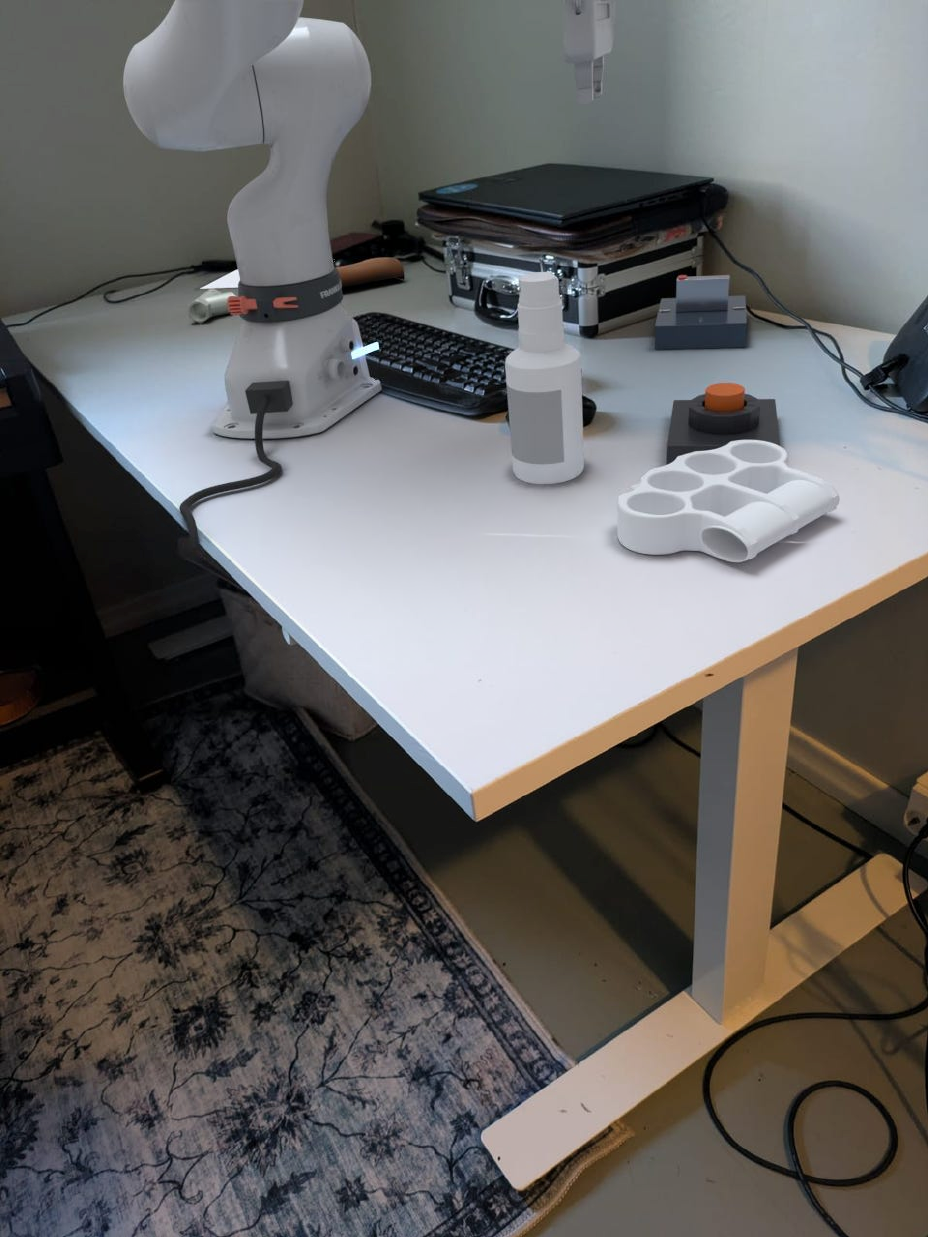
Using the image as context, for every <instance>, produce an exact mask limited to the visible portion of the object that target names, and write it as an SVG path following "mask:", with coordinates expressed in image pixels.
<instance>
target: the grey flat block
mask: <svg viewBox="0 0 928 1237" xmlns="http://www.w3.org/2000/svg"><path fill="white" fill-rule="evenodd" d="M746 298H747V296H746V295H729V298H728V310H725V311H693V312H676V297H665V298H664V297H663V298H661V299H660V303H659V307H658V312H657V315H656V320H655V324H654V350H655V351H658V350H690V349H691V350H699V349H701V350H703V349H734V348H735V349H738V348H746V342H747V328H748V318H747V299H746Z"/></svg>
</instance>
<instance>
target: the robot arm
mask: <svg viewBox="0 0 928 1237" xmlns="http://www.w3.org/2000/svg"><path fill="white" fill-rule="evenodd" d="M304 1H305V0H174V1H173V4H172V5H171V8H170V9H169V11H168V12H167V14H166V15H165V17H164V19H163V20H162V21H161V23H159V25H158V27H156V28H155V29H154V30H153V31H152V32H151V33H150V34H148V35H147V36H146V37H145V38H143V39H142V40H140V41H139V42H137V43H135V44H134V45H133V47H132V48H131V50H130V52H129V54H128V55H127V58H126V62H125V64H124V69H123V78H122V86H123V95H124V100H125V103H126V107H127V109H128V111H129V114H130V116H131V118H132V120H133V122H134V123H135V125H136V127H137V128H138V130H140V132H141V133H142V134H143V135H144V136H145V138H146V139H147V140H149V141H150V142H151V143H152V144H153V145H154V146H156V147H157V148H159V149H163V150H164V149H165V150H174V151H188V152H210V151H217V150H224V149H232V148H239V147H246V146H254V145H262V144H263V145H268V146H269V152H270V154H269V160H268V164H267V166H266V167H265V169H264V170H263V172H261V173H260V174H259V175H258V176H256V177H255V178H253V179H252V180H251V181H250V182H248V183H247V184H246V185H245V186H243V187H242V188H241V189H240V190H239V191H238V192H237V193H236V194H235V196H234V197H233V198H232V200H231V201H230V203H229V206H228V210H227V216H226V220H227V221H226V223H227V226H228V230H229V235H230V240H231V244H232V245H231V246H232V249H233V253H234V257H235V258H234V259H235V262H236V267H237V269H238V272H239V276H240V281H239V283H238V288H237V295H236V296H237V297H236V296H229V297H228V299H227V301H228V302H227V305H229V306H227V309H229V310H228V311H229V312H231V313H229V314H230V315H232V316H236V315H238V316H239V317H240V319H241V322H240V326H239V330H238V334H237V336H236V339H235V342H234V345H233V347H232V350H231V354H230V357H229V360H228V363H227V367H226V369H225V372H224V388H225V393H226V394H225V395H226V399H227V404H226V405H225V406H224V408H223V409H222V410H221V412H220V413H219V415H218V416H217V417H216V419H215V420H214V422H213V423H212V425H211V426H212V432H213V433H214V434H215V435H218V436H222V437H226V438H235V439H254V444H255V452H256V455H257V458H258V459H259V461H260V462H261V463H262V464H264V465H265V466H267V467H268V468H270V469H269V470H268V471H267V472H265V473H263V474H260V475H257V476H253V477H249V478H244V479H240V480H235V481H231V482H230V481H229V482H225V483H221V484H216V485H211V486H208V487H206V488H203V489H201V490H198V491H196V492H193V493H192V494H191V495H189V496H188V497H187V498H185V499H184V500H183V501H182V502H181V503H180V505H179V508H178V509H179V512H180V515H181V516H182V517H183V519H184V521H185V523H186V526H187V531H188V539H189V540H188V542H189V547H190V548H192V549H193V548H197V547H198V546H199V545H200V540H199V532H198V531H199V530H198V526H197V522H196V519H195V517H194V516H195V515H194V514H193V513H192V512H191V510H190V508H191V507H192V506H193V505H195V504H196V503H197V502H199V501H201V500H202V499H203V500H204V498H207V497H210V496H214V495H217V494H222V493H225V492H231V491H235V490H240V489H245V488H250V487H255V486H257V485H260V484H263V483H266V482H268V481H270V480H273V479H274V478H276V477H277V476H278V475H279V474H280V473H281V471H282V464H280V463H279V462H277V461H275V460H273V459H270V458H269V457H268V456H267V455H266V453H265V448H264V441H263V440H264V439H265V440H266V439H267V440H268V439H286V438H296V437H303V436H309V435H314V434H319V433H321V432H324V431H325V430H327V429H329V428H330V427H331V426H333V425H335V423H337V422H338V421H340V420H341V419H343V418H344V417H345V416H348V414H350V413H351V412H353V411H354V410H356V409H357V408H359V407H360V406H361V405H363V404H364V403H365V402H367V401H368V400H370V399H371V398H372V397H374V396H376V395H377V394H379V392H381V391H382V390H383V388H382V384H381V381H380V379H377V380H375V379H376V378H375V379H374V377H371V376H370V371H369V366H368V362H367V358H366V355H367V354H369V353H372V352H374V351H377V350H379V349H380V347H379V346H380V345H379V342H378V341H376V342H373V343H370V344H368V345H366V346H364V345H363V341H362V335H361V330H360V327H359V324H358V322H357V321H356V320H355V319H354V318H353V317H352V316H351V315H350V314H349V313H348V311H347V310H346V309H345V307H344V305H343V302H342V301H343V299H344V294H343V287H342V283H341V279H340V277H339V272H338V269H337V267H336V266H335V264H334V262H333V260H334V258H333V251H332V245H331V237H330V229H329V219H328V205H327V204H328V203H327V201H328V200H327V199H328V198H327V195H328V194H327V193H328V186H329V184H328V183H329V178H330V174H331V170H332V167H333V163H334V161H335V159H336V156H337V154H338V151H339V149H340V147H341V145H342V143H343V142H344V140H345V138H346V137H347V135H348V134H349V133H350V132H351V130H352V129H353V128H354V127H355V126H356V125H357V124H358V122H359V121H360V120H361V118H362V117H363V115H364V113H365V111H366V110H367V107H368V104H369V100H370V97H371V90H372V72H371V66H370V61H369V58H368V54H367V52H366V50H365V47H364V46H363V44H362V41H361V40H360V39H359V38H358V36H357V34H355V32H354V31H353V30H352V29H351V28H350V27H349V26H348V25H347V24H346V23H345V22H341V21H334V20H327V19H320V18H310V17H301V13H302V9H303V5H304ZM561 5H562V29H563V32H562V33H563V34H562V35H563V36H562V39H563V40H562V41H563V42H562V43H563V55H564V56H563V57H564V61H565V64H567V65H569V64H570V65H571V64H573V65H574V66H573V68H574V69H573V72H574V79H575V84H576V89H577V90H576V91H577V92H576V95H577V103H578V105H580V106H588V105H590V104H593V102H594V99H597V98H600V97H601V96H602V95H603V80H604V70H605V69H604V68H605V56H607V55H609V54H610V53H611V52H612V50H613V43H614V38H615V37H614V36H615V25H616V24H615V22H616V11H617V10H616V9H617V8H616V6H617V0H561Z"/></svg>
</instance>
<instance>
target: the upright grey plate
mask: <svg viewBox="0 0 928 1237" xmlns="http://www.w3.org/2000/svg"><path fill="white" fill-rule="evenodd" d="M730 280H731V275H730V274H721V275H720V274H719V275H699V276H697V275H696V276H688V275H687V274H680V275H678V276H677V277H676V281H675V282H676V283H675V285H676V286H675V298H676V312H693V311H725V310H728V298H729V296H730V282H731V281H730Z"/></svg>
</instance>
